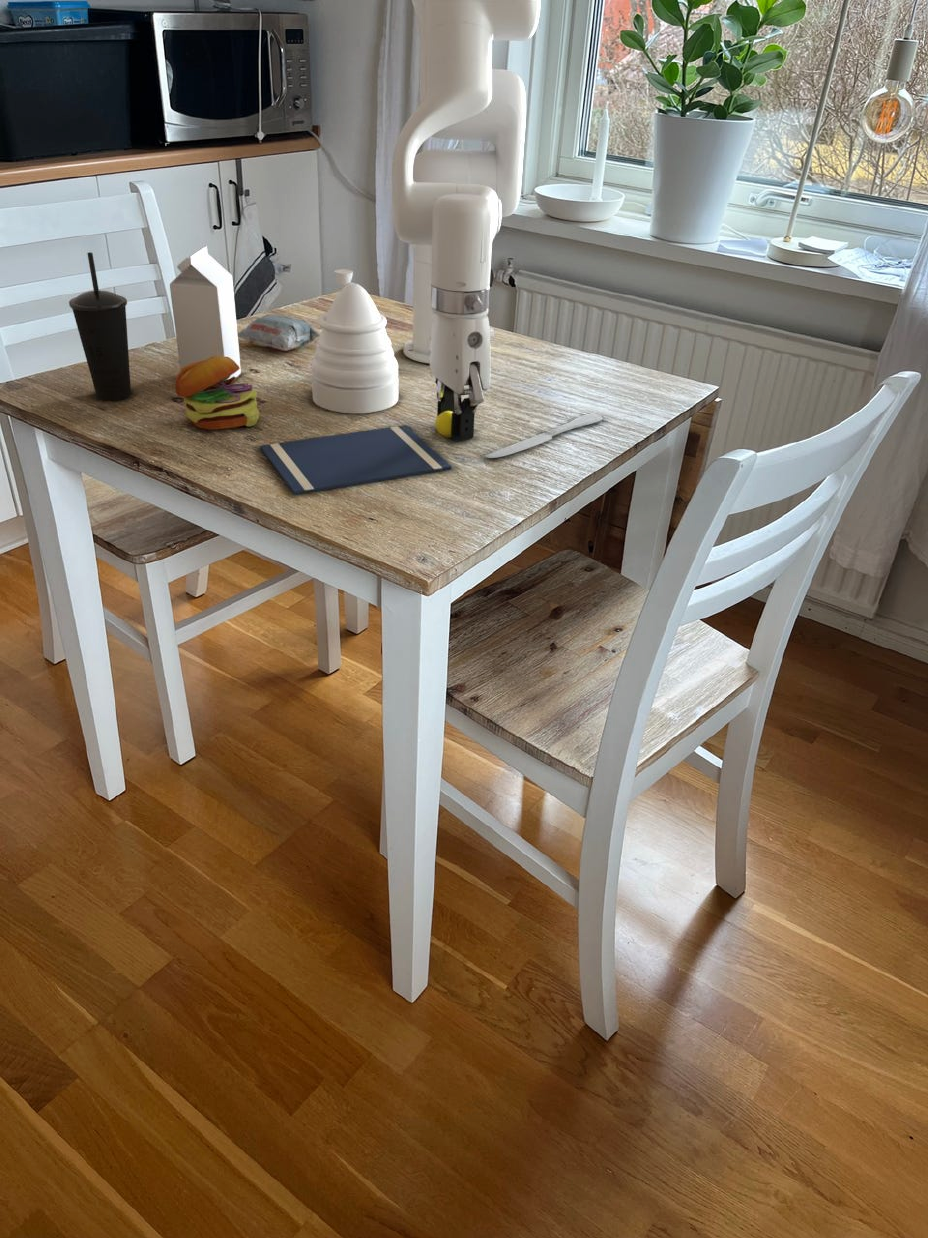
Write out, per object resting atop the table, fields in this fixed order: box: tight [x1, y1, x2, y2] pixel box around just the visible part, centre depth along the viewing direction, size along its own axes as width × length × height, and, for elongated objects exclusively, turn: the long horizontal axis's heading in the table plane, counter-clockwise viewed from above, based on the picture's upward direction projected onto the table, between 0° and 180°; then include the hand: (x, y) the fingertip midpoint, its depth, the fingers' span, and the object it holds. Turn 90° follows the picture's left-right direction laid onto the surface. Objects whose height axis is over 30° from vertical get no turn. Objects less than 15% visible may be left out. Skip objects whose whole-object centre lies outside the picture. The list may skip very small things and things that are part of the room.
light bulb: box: [435, 411, 453, 438], centre depth 131 cm, size 3×6×4 cm, turn 124°
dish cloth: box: [259, 424, 452, 496], centre depth 123 cm, size 21×15×1 cm
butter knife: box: [483, 412, 603, 459], centre depth 132 cm, size 1×24×3 cm
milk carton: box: [169, 245, 242, 380], centre depth 141 cm, size 7×7×19 cm
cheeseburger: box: [174, 356, 260, 431], centre depth 130 cm, size 10×11×10 cm
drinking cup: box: [68, 251, 132, 402], centre depth 133 cm, size 8×8×20 cm
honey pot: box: [310, 268, 399, 414], centre depth 137 cm, size 13×13×18 cm
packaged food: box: [237, 314, 321, 352], centre depth 159 cm, size 9×12×5 cm
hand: (454, 431), depth 132 cm, fingers closed on light bulb, 3 cm apart
